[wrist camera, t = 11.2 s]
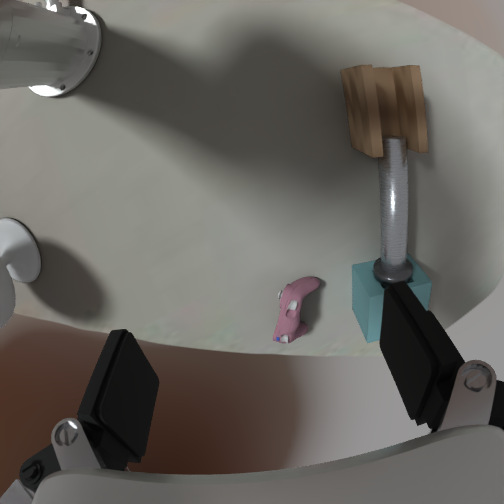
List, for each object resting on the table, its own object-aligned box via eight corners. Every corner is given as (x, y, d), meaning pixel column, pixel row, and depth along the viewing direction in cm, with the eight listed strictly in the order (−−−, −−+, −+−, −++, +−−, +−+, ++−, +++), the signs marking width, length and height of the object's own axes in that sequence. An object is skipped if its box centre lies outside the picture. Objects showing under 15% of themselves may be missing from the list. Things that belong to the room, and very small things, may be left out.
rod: (360, 136, 32) (379, 143, 27) (400, 132, 32) (423, 139, 27) (366, 311, 44) (378, 335, 39) (398, 304, 43) (412, 326, 39)
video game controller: (292, 266, 44) (273, 290, 38) (323, 276, 42) (308, 302, 36) (282, 320, 48) (264, 347, 43) (308, 329, 47) (294, 358, 41)
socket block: (352, 265, 42) (369, 297, 35) (407, 253, 41) (432, 282, 34) (352, 308, 46) (367, 343, 39) (404, 296, 45) (424, 327, 38)
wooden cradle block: (340, 70, 30) (360, 65, 24) (391, 68, 29) (419, 65, 23) (351, 146, 34) (372, 157, 28) (400, 141, 34) (428, 152, 28)
